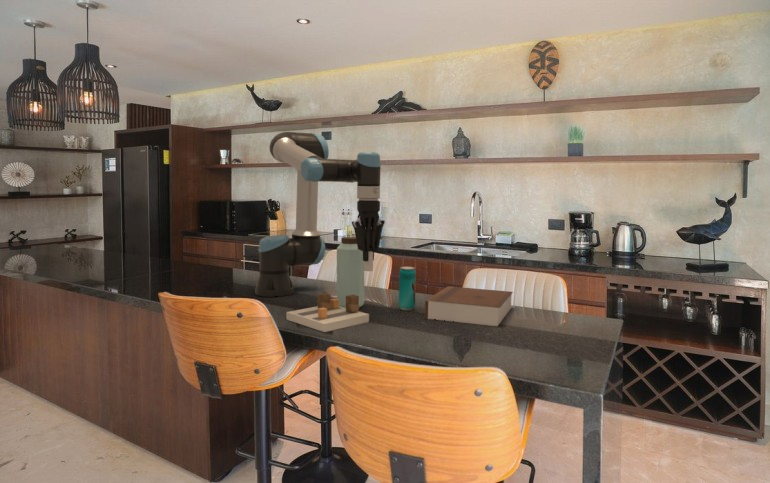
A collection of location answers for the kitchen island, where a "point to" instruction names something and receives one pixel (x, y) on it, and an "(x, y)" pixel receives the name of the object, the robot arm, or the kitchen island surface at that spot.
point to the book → (469, 305)
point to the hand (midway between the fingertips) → (368, 270)
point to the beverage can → (407, 288)
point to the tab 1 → (324, 301)
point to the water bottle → (349, 271)
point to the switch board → (327, 317)
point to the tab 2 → (352, 303)
